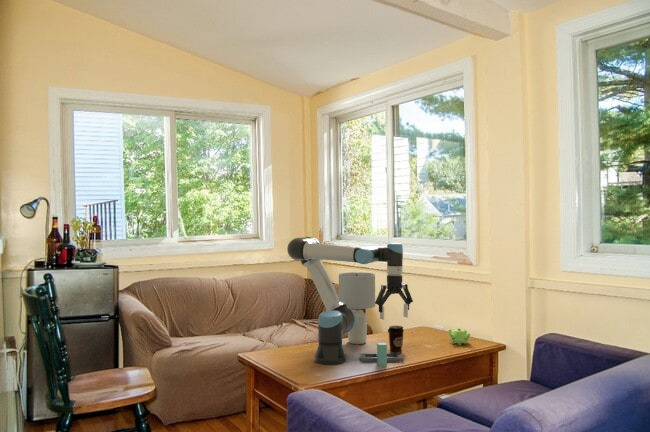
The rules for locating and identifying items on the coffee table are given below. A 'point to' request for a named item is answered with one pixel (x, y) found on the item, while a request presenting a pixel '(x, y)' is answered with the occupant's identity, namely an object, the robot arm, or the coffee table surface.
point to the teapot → (459, 336)
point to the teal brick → (382, 354)
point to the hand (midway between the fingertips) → (393, 318)
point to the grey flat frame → (373, 357)
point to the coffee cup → (395, 338)
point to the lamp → (357, 301)
